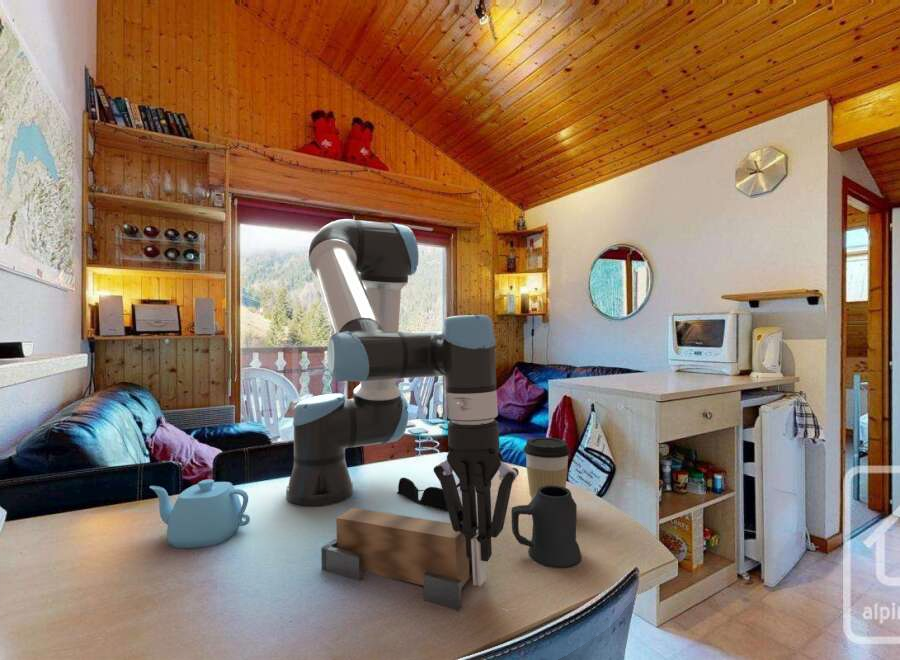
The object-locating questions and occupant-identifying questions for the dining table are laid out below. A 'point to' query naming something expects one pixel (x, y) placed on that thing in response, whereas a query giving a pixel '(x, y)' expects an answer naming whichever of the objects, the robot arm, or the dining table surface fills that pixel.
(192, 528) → the teapot
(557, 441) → the coffee cup
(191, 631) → the dining table surface
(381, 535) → the walnut slat
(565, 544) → the mug
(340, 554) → the slat support bracket
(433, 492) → the sunglasses
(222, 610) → the dining table surface
